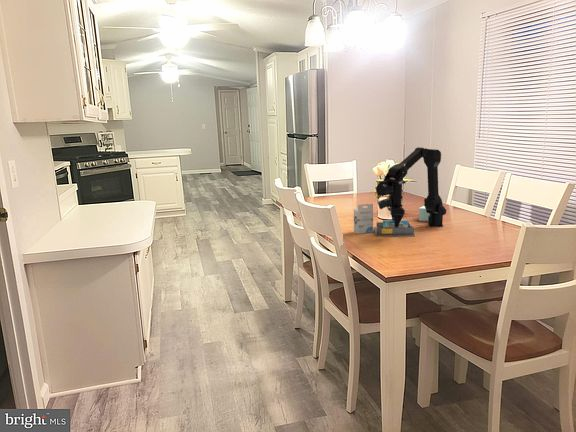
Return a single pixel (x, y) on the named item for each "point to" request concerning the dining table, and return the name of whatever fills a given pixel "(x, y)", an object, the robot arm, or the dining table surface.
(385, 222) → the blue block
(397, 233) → the rack
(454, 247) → the dining table surface
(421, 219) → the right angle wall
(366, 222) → the ink box
